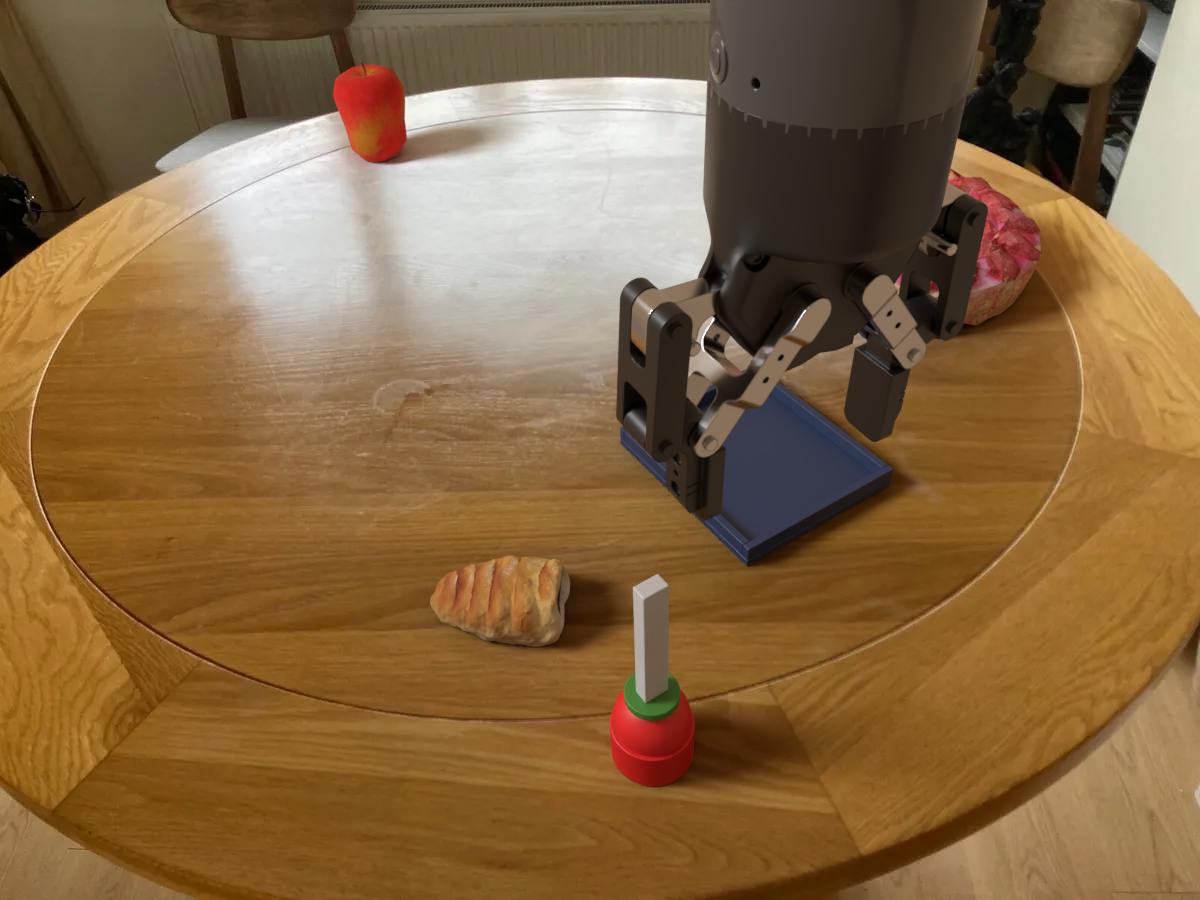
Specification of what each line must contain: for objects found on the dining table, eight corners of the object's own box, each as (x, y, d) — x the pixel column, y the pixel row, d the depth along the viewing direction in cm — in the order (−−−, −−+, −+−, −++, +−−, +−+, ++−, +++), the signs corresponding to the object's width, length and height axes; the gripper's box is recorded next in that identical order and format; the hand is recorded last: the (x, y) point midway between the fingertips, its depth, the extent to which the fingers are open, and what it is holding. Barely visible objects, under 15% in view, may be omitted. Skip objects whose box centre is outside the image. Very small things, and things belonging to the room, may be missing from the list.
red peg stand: (710, 758, 58) (721, 595, 47) (642, 802, 56) (638, 643, 45) (661, 699, 61) (662, 534, 50) (595, 739, 59) (582, 576, 49)
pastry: (426, 648, 64) (416, 612, 62) (444, 571, 69) (436, 535, 67) (564, 652, 64) (561, 616, 61) (573, 574, 69) (570, 538, 66)
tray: (890, 485, 74) (893, 468, 73) (746, 566, 69) (748, 550, 67) (754, 380, 84) (755, 364, 83) (620, 443, 79) (619, 427, 78)
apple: (418, 164, 119) (400, 68, 111) (349, 173, 117) (326, 77, 109) (411, 135, 125) (395, 42, 117) (346, 144, 124) (325, 51, 116)
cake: (727, 223, 102) (736, 154, 97) (931, 189, 108) (951, 122, 102) (838, 367, 86) (856, 294, 80) (1071, 318, 92) (1104, 246, 86)
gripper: (707, 178, 23) (690, 600, 34) (1112, 49, 28) (983, 455, 39) (561, 77, 28) (587, 475, 39) (928, -17, 33) (859, 360, 44)
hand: (785, 465), depth 39 cm, fingers open, 8 cm apart
